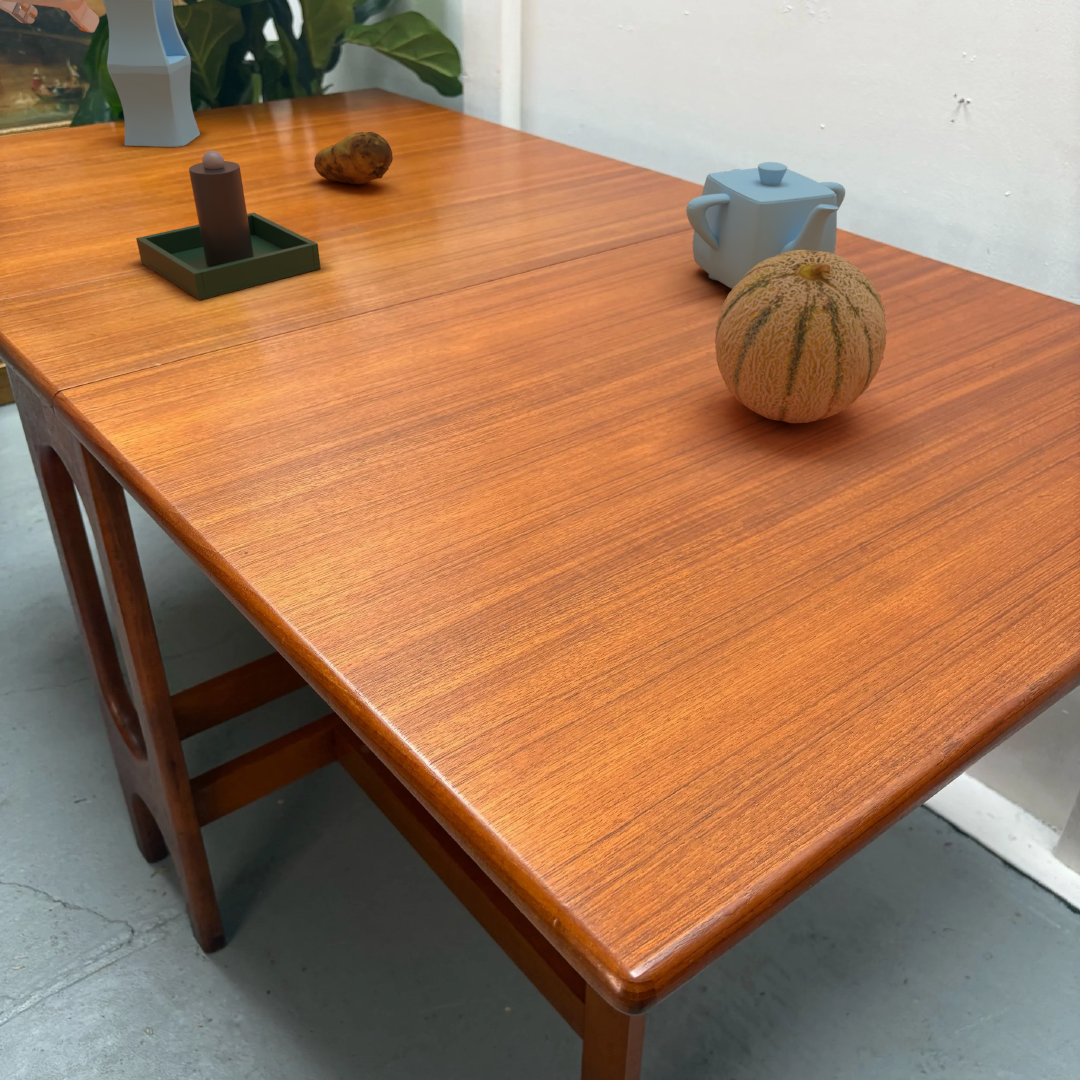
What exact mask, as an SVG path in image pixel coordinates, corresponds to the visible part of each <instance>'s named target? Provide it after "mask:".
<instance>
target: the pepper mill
mask: <svg viewBox="0 0 1080 1080" xmlns="http://www.w3.org/2000/svg"><path fill="white" fill-rule="evenodd" d="M201 160H202V161H201V162H199V163H196V164H192V165H191V166H190V167H189V168H188V172H189V178H190V184H191V189H192V195H193V199H194V206H195V210H196V216H197V221H198V225H199V227H200V233H201V238H202V243H203V249H204V254H205V260H206V264H207V265H208V266H209V267H214V266H218V265H222V264H226V263H230V262H234V261H238V260H242V259H247V258H251V257H254V255H253V248H252V242H251V236H250V229H249V223H248V217H247V214H248V210H247V205H246V204H247V203H246V198H245V192H244V186H243V179H242V173H241V167H240V164H239V163H237V162H234V161H230V160H229V161H228V160H225V159H224V157H223V155H222V154H221V153H220V152H219V151H217V150H212V149H211V150H208V151H206V152H205V153H204V154H203V156H202V159H201Z"/></svg>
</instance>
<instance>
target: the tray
mask: <svg viewBox="0 0 1080 1080" xmlns="http://www.w3.org/2000/svg"><path fill="white" fill-rule="evenodd" d="M247 217H248V223H249V229H250V236H251V242H252V248H253V255H254V257H251V258H247V259H242V260H238V261H234V262H230V263H226V264H222V265H218V266H214V267H209V266H208V265H207V264H206V260H205V254H204V249H203V243H202V238H201V233H200V227H199V224H196V225H195V224H194V225H191V226H190V225H189V226H185V227H180V228H176V229H171V230H167V231H163V232H157V233H152V234H149V235H144V236H139V237H136V238H135V239H136V244H137V248H138V253H139V258H140V262H141V264H143V265H144V266H146V267H147V268H148V269H150V270H152V271H153V272H155V273H156V274H158V275H159V276H161V277H162V278H164V279H166V280H167V281H169V282H171V284H173V285H174V286H176V287H178V288H179V289H181V290H182V291H184V292H186V293H187V294H188V295H190V296H192V297H194V298H195V299H197V300H198V301H202V300H206V299H210V298H215V297H218V296H221V295H222V296H223V295H225V294H229V293H233V292H237V291H240V290H245V289H248V288H253V287H256V286H261V285H264V284H268V283H272V282H276V281H279V280H283V279H287V278H290V277H291V278H292V277H294V276H298V275H302V274H307V273H310V272H314V271H318V270H321V269H322V268H321V259H320V252H319V244H318V243H317V242H315V241H313V240H311V239H309V238H307V237H305V236H303V235H301V234H299V233H297V232H294V231H293V230H291V229H288V228H287V227H286V226H285V227H284V226H283V225H280V224H279V223H276V222H274V221H273V220H270V219H268V218H266V217H264V216H262V215H261V214H259V213H256V212H249V213H247Z"/></svg>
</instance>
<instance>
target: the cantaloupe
mask: <svg viewBox="0 0 1080 1080" xmlns="http://www.w3.org/2000/svg"><path fill="white" fill-rule="evenodd" d="M881 298H882V295H881V294H880V293H879V291H878V290H877V288H876V286H875V284H874V283H873V282H872V280H871V279H870V278H869V277H868V276H867V275H866V273H864V271H862V270H861V269H860V268H859V267H857V266H855V265H854V264H853V263H852V262H851V261H850V260H849V259H848V258H847V259H846V258H845V257H842V256H841V255H838V254H832V253H829V252H820V251H810V250H793V251H788V252H784V253H781V254H779V255H776V256H774V257H771V258H768V259H766V260H765V261H762V262H760V263H758V264H757V265H755V266H754V267H753V268H752V269H751V270H750V271H748V272H747V273H746V275H745V276H744V277H743V278H742V279H741V280H740V281H739V282H738V284H737V285H736V286H735V287H734V288H733V289H731V291H729V293H728V294H727V297H726V298H725V299H724V301H723V303H722V306H721V309H720V311H719V314H718V318H717V322H716V327H715V329H716V330H715V338H714V344H715V346H714V347H715V348H714V349H715V358H716V364H717V367H718V371H719V373H720V375H721V378H722V380H723V382H724V385H725V386H726V387H727V389H728V391H729V392H730V394H731V395H733V397H735V399H736V400H737V401H739V402H740V403H741V404H743V405H744V407H746V408H748V409H749V410H751V411H752V412H754V413H755V414H758V415H759V416H762V417H764V418H766V419H768V420H773V421H776V422H777V421H778V422H785V423H788V424H807V423H811V422H815V421H819V420H824V419H826V418H830V417H833V416H835V415H837V414H839V413H840V412H843V411H844V410H845V409H847V408H849V407H850V406H851V405H852V404H853V403H855V402H856V401H857V399H859V397H861V396H862V395H863V394H864V392H865V391H867V389H868V388H869V387H870V385H871V383H872V382H873V380H874V379H875V377H876V376H877V374H878V371H879V369H880V367H881V364H882V362H883V360H884V358H885V357H884V353H885V350H886V345H887V334H888V333H887V327H886V326H887V325H886V313H885V311H886V310H885V309H884V308H885V306H884V304H883V301H882V299H881Z"/></svg>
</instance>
